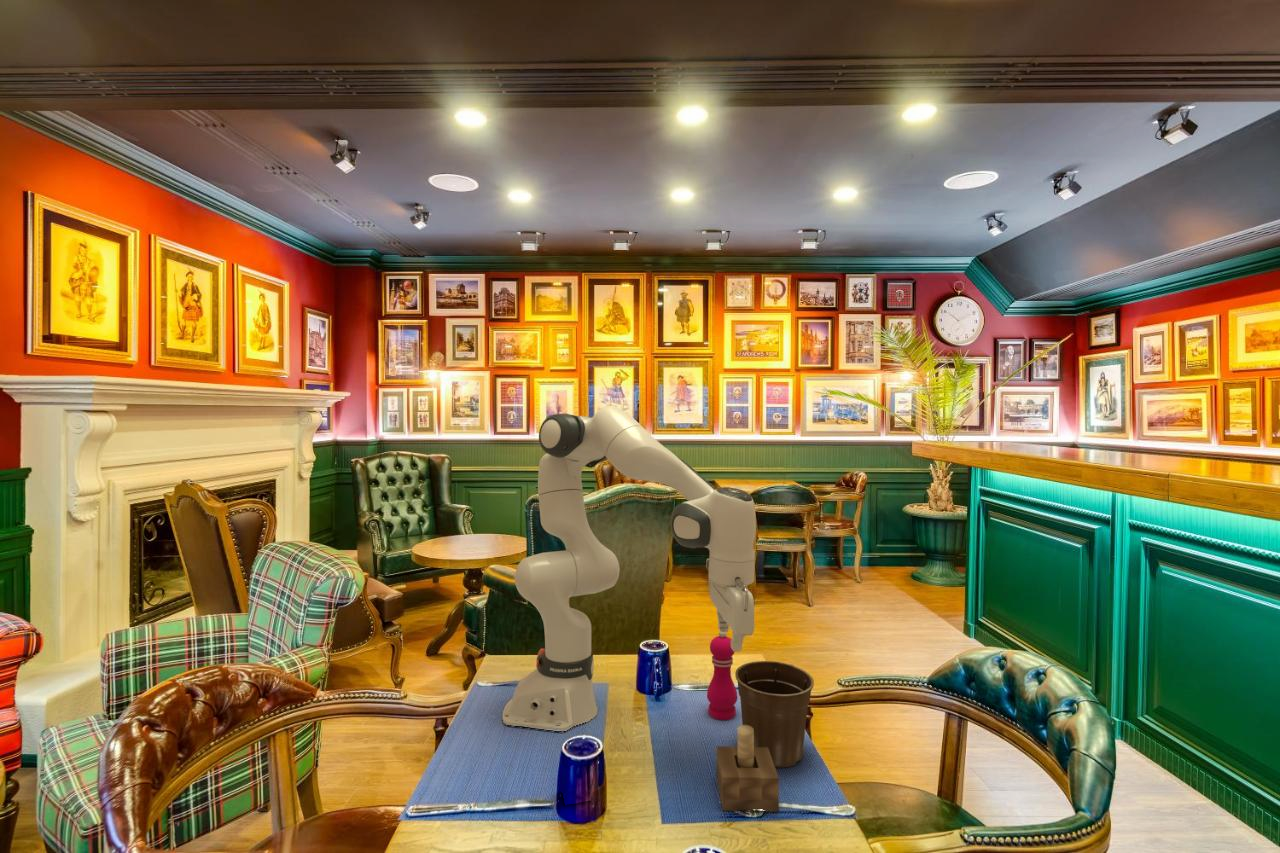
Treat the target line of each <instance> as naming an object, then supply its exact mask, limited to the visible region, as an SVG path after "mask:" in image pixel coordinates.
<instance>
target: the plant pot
mask: <svg viewBox="0 0 1280 853" xmlns="http://www.w3.org/2000/svg"><path fill="white" fill-rule="evenodd" d="M790 664H791V663H785V662H781V661H773V660H772V661H771V660H761V661H760V660H758V661H757V660H756V661H751V662H747V663H743V664H741V665H740V666H738V667H737V669H736V670H735V673H734V674H735V680H736V681H737V689H738V692H737V693H738V696H739V698H740V699H739V700H740V709H741V721H742V722H741V723H742V724H741V725H748V726H751V727H752V728H753V729H754V747H768V749H769V752H770V755H771V758H772V760H773V763H774V766H775V769H776V768H778V769H781V768H789V767H793V766H795V765H796V764H797V763H798V762H800V761H802V759H803V754H804V742H805V732H806V724H807V715H808V707H809V705H810V701H811V696H812V695H811V694H812V693H811V692H812V690H813V688H814V686H815V680H814V678H813V676H812V675H811V674H810V673H809V672H807V671H806V670H804V669H802V668H800V667H798V666H795V665H794V664H792V665H790ZM793 665H794V666H793Z"/></svg>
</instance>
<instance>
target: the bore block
mask: <svg viewBox="0 0 1280 853" xmlns="http://www.w3.org/2000/svg"><path fill="white" fill-rule="evenodd" d="M779 780H780V778H779V775H778V772H777V769H776V767H775V766H774V763H773V760H772V758H771V755H770V752H769V749H768V747H754V768H738V746H723V745H722V746H720V745H719V746H718V745H717V746H716V781H717V787H718V788H717V789H718V792H719V793H718V794H719V799H720V803H721V805H720V806H721V810H722V811H727V812H729V811H730V812H731V811H732V812H739V811H738V810H742V811H741V812H747V811H746V810H753V809H763V810H766V812H767V813H768V811H769V812H770V813H772V812H774V813H775V812H776V813H778V812H779V810H780V808H779V806H780V805H779V803H780V802H779V800H780V799H779V798H780V796H779V792H780V781H779ZM743 810H745V811H743Z"/></svg>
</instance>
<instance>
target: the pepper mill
mask: <svg viewBox="0 0 1280 853" xmlns="http://www.w3.org/2000/svg"><path fill="white" fill-rule="evenodd" d="M731 640H732V639H731V638H730V637H728V636H727V632H721V631H720V630H719V632H718V635H717V636H715V637H713V639H711V641H710V644H709V651H710V653H711V655H712V656H711V663H712V665H713V675H712V677H711V678H712V679H711V680H710V682H709V684H708V687H707V690H706V698H707V701H708V702H709V704H708V714H709V716H710V717H711V718H713V719H715V720H720V721H728V720H732V719H734V718H735V716H736V706H735V704H736V703H737V701H738V692H737V689H736V688H737V687H736V685H735V683H734V680H733V678H732V672H731V668H732V666H733V664H734V658H733V656H734V654H736V652H734V651H733V650H732V648H731Z"/></svg>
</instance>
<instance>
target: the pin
mask: <svg viewBox="0 0 1280 853" xmlns="http://www.w3.org/2000/svg"><path fill="white" fill-rule="evenodd" d="M737 747H738V768H754V729H753V728H752V727H751V726H748V725H743V724H741V725H739V726H737Z"/></svg>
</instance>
